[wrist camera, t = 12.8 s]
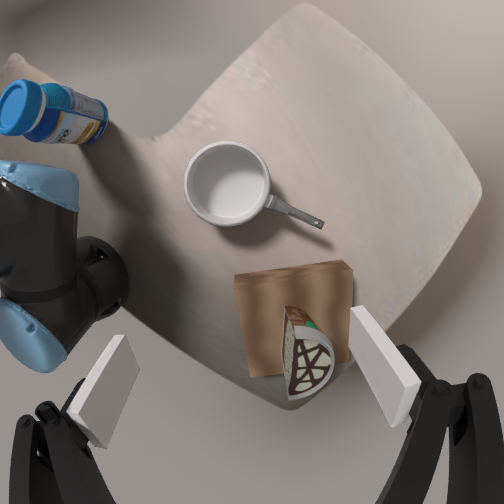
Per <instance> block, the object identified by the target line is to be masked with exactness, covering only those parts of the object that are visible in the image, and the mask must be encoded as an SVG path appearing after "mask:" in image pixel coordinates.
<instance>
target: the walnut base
mask: <svg viewBox="0 0 504 504" xmlns="http://www.w3.org/2000/svg"><path fill="white" fill-rule="evenodd" d="M234 293H235V298H236V304H237V309H238V315H239V320H240V325H241V331H242V336H243V341H244V347H245V352H246V357H247V362H248V367H249V372H250V377H251V378H252V377H261V376H268V375H276V374H282V373H284V370H283V364H282V358H281V347H282V333H283V319H284V306H292V307H296V308H299V309H301V310H303V311H304V312H306V313H307V314H308V315H309V317H310V318H311V320H312V321H313V323H314V325H315V326H316V328H317V330H318V331H320V332H322V333H323V334H324V335H326V337H327V338H328V339H329V340H330V342H331V343H332V346H333V349H334V358H335V363H334V364H336V363H341V362H345V361H349V352H350V348H349V347H348V344H349V328H350V308H351V307H352V296H353V270H352V269H351V268H350V267H349V266H348V265H347V264H346V263H345V262H344V261H343V260H335V261H329V262H322V263H316V264H309V265H302V266H296V267H289V268H282V269H275V270H268V271H261V272H253V273H246V274H239V275H235V276H234Z"/></svg>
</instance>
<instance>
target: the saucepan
mask: <svg viewBox="0 0 504 504" xmlns="http://www.w3.org/2000/svg"><path fill="white" fill-rule="evenodd" d="M183 187H184V194H185V197H186V200H187V202H188V204H189V206H190V208H191V209H192V210H193V212H194V213H195V214H196V215H197V216H198V217H200V218H201V219H202V220H204V221H206V222H208V223H210V224H213V225H216V226H222V227H232V226H237V225H241V224H244V223H246V222H248V221H250V220H251V219H252V218H254V217H255V216H256V215H257V214H258V213H259V212H260V211H261V210H262V209H263V207H266V208H267V209H270V210H275V211H278V212H281V213H284V214H288V215H290V216H292V217H294V218H297V219H299V220H301V221H303V222H306V223H308V224H310V225H312V226H315V227H317V228H319V229H322V227H323V225H324V223H325V222H324V221H322V220H320V219H317V218H315V217H313V216H311V215H309V214H307V213H305V212H303V211H301V210H298V209H296V208H294V207H292V206H290V205H289V204H287V203H285V202H284V201H282V200H281V199H280V198H278V196H275V195H271V194H270V187H271V181H270V174H269V170H268V167H267V165H266V163H265V161H264V160H263V158H262V157H261V156H260V155H259V154H258V153H257V152H256V151H255V150H254V149H252V148H251V147H249V146H247V145H245V144H243V143H240V142H236V141H219V142H215V143H212V144H209V145H207V146H206V147H204V148H202V149H201V150H200V151H199V152H197V153H196V154H195V155H194V157H193V158H192V159H191V160H190V162H189V164H188V166H187V168H186V171H185V175H184V182H183ZM315 221H318V224H314V222H315Z"/></svg>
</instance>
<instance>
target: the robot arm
mask: <svg viewBox="0 0 504 504" xmlns="http://www.w3.org/2000/svg"><path fill="white" fill-rule="evenodd" d="M78 199H79V180H78V178H77V176H76V175H75V174H74V173H73V172H72V171H69V170H66V169H62V168H57V167H52V166H46V165H40V164H34V163H27V162H20V161H8V160H0V289H1V298H0V339H1V341H2V342H3V344H4V345H5V347H6V348H7V349H8V350H9V351H10V352H11V354H12V355H13V356H14V357H15V358H16V359H17V360H19V361H20V362H21V363H22V364H24V365H25V366H27V367H28V368H30V369H32V370H34V371H37V372H40V373H50V372H52V371H54V370H55V369H56V368H57V367H58V366H59V365H60V364H61V363H62V362H63V361H65V360H66V359H67V356H68V355H69V353H70V352H71V351H72V349H73V348H74V347H75V345H76V344H77V343H78V342H79V340H80V339H81V338H82V337H83V335H84V334H85V333H86V332H87V330H88V329H89V328H90V327H91V325H92V324H93V323H94V322H96V321H99V320H101V319H104V318H106V317H109V316H111V315H113V314H114V313H115V312H116V311H117V310H118V309H119V308H120V307H121V305H122V304H123V303H124V301H125V299H126V297H127V294H128V287H129V283H128V275H127V271H126V268H125V266H124V264H123V262H122V260H121V258H120V257H119V255H118V254H117V252H116V251H115V250H114V249H113V248H112V247H111V246H110V245H109V244H107V243H106V242H104V241H102V240H100V239H98V238H95V237H90V236H85V237H80V238H78V239H77V224H78V212H79V211H80V209H79V207H78ZM348 347H349V348H350V350H351V352H352V354H353V356H354V358H355V359H356V361H357V363H358V365H359V367H360V369H361V370H362V372H363V374H364V376H365V378H366V380H367V382H368V384H369V385H370V387H371V389H372V391H373V393H374V395H375V397H376V399H377V401H378V403H379V405H380V407H381V409H382V411H383V413H384V414H385V417H386V418H387V421H388V423H389V424H390V426H391V428H392V427H394V426H397V425H399V424H402V423H405V422H406V420H407V418H408V416H409V415H410V417H411V419H412V423H411V424H410V427H409V429H408V431H407V436H406V439H405V441H404V444H403V447H402V449H401V451H400V454H399V456H398V459H397V461H396V463H395V466H394V468H393V470H392V472H391V474H390V476H389V478H388V481H387V482H386V485H385V486H384V488H383V490H382V493H381V494H380V496H379V498H378V500H377V501H376V503H375V504H422V503H423V501H424V499H425V497H426V494H427V491H428V489H429V486H430V484H431V481H432V478H433V475H434V472H435V469H436V466H437V462H438V459H439V456H440V453H441V449H442V445H443V441H444V437H445V433H446V428H447V427H449V482H448V483H449V484H448V495H447V504H504V441H503V435H502V428H501V423H500V418H499V413H498V408H497V404H496V400H495V396H494V392H493V388H492V385H491V381H490V380H489V378H488V377H487V376H486V375H484V374H481V373H475V374H472V375H471V376H470V377H469V378H468V380H467V382H466V383H463V384H457V385H451V384H450V383H448V382H447V381H444V380H437V379H436V378H435V377H434V375H433V374H432V373H431V371H430V370H429V369H428V368H427V366H426V365H425V364H424V363H423V361H421V359H420V358H419V357H418V356H417V354H416V353H415V351H414V350H413V349H412V348H410V347H408V346H407V345H405V344H403V345H399V346H396V347H395V345H394V344H393V343H392V342H391V340H390V339H389V338H388V336H387V335H386V334H385V333H384V331H383V330H382V329H381V327H380V326H379V325H378V324H377V322H376V321H375V320H374V319H373V317H372V316H371V315H370V314H369V312H368V311H367V310H366V309H365V307H364V306H363V305H361V306H356V307H351V308H350V328H349V344H348ZM139 370H140V368H139V366H138V364H137V362H136V359H135V357H134V355H133V352H132V350H131V348H130V345H129V343H128V340H127V338H126V336H125V335H114V337H113V338H112V340H111V341H110V343H109V344H108V345H107V347H106V348H105V350H104V351H103V353H102V354H101V356H100V357H99V359H98V360H97V362H96V363H95V365H94V367H93V368H92V370H91V371H90V373H89V374H88V376H87V378H83V379H82V380H81V381H80V382H78V383H77V385H76V386H75V388H74V389H73V391H72V393H71V394H70V396H69V397H68V399H67V401H66V402H65V404H64V406H63V407H62V409H61V411H59V410H58V408H57V407H56V405H55V404H54V403H53V402H51V401H45V402H43V403H40V404H39V405H38V406H37V408H36V410H35V415H36V416H37V417H38V418H39V420H40V421H36V420H35V419H34V418H33V416H31V415H23V416H22V417H20V419H19V420H18V422H17V425H16V430H15V436H14V442H13V449H12V457H11V467H10V482H9V504H116V503H115V501H114V499H113V497H112V495H111V494H110V492H109V490H108V488H107V486H106V484H105V482H104V480H103V478H102V475H101V473H100V471H99V469H98V467H97V464H96V462H95V460H94V457H93V455H92V452H91V450H90V448H89V447H88V445H87V443H88V441H90V442H91V443H92V444H93V445H94V446H95V447H99V448H104V449H107V447H108V444H109V442H110V439H111V436H112V434H113V432H114V429H115V427H116V424H117V421H118V419H119V417H120V414H121V412H122V410H123V407H124V405H125V402H126V400H127V398H128V395H129V393H130V391H131V388H132V386H133V384H134V381H135V379H136V377H137V375H138V372H139ZM37 451H38V452H39V456H38V455H37Z"/></svg>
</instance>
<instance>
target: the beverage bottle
mask: <svg viewBox="0 0 504 504" xmlns="http://www.w3.org/2000/svg"><path fill="white" fill-rule="evenodd" d="M107 123H108V111H107V108H106V106H105V105H104V103H102V102H101V101H99V100H97V99H93V98H90V97H87V96H85V95H83V94H80V93H77V92H75V91H74V90H73V89H71V88H70V87H67V86H60V85H59V84H56V83H46V84H42V85H38V84H37V83H34V82H31V81H28V80H24V79H20V80H16V81H14V82H12V83H11V84H10V85H9V86H8V87H7V88H6V90H5V91H4V92H3V94H2V96H1V98H0V134H2V135H5V136H20V135H23V136H24V137H25V138H26V139H28V140H30V141H32V142H42V143H45V144H54V143H68V144H78V145H89V144H92V143H94V142H95V141H97V140H98V139H99V138H100V137H101V136H102V134H103V133H104V131H105V129H106V127H107Z"/></svg>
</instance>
